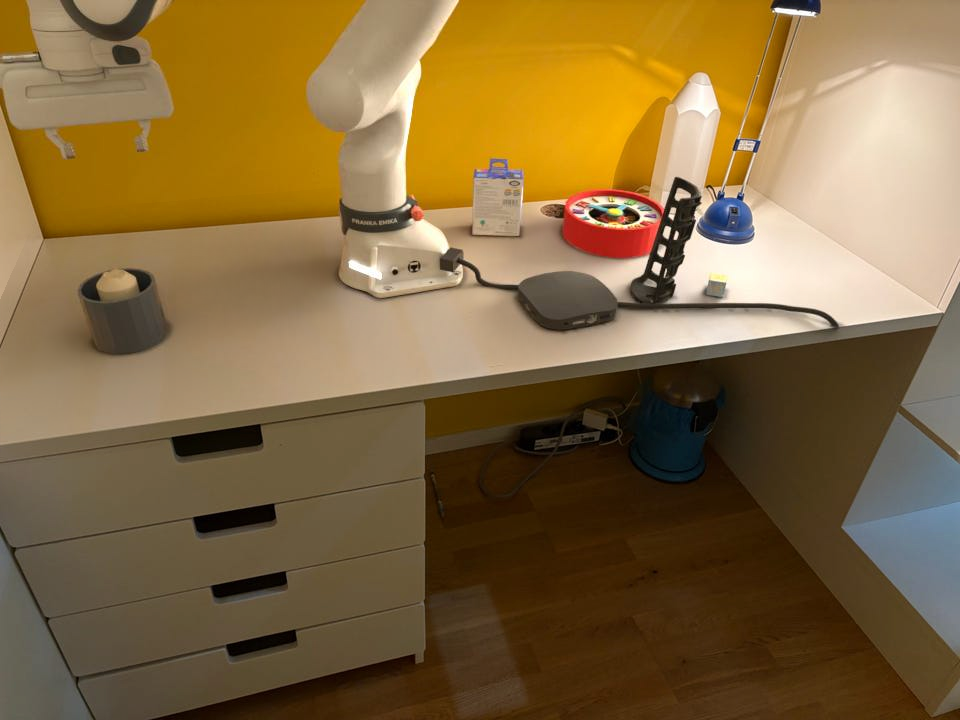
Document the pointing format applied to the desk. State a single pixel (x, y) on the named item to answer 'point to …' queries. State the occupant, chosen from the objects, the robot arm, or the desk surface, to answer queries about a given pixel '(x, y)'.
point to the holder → (669, 245)
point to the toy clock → (611, 222)
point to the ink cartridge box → (497, 200)
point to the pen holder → (124, 315)
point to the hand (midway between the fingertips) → (107, 154)
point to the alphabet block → (716, 285)
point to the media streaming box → (567, 299)
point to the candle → (117, 285)
